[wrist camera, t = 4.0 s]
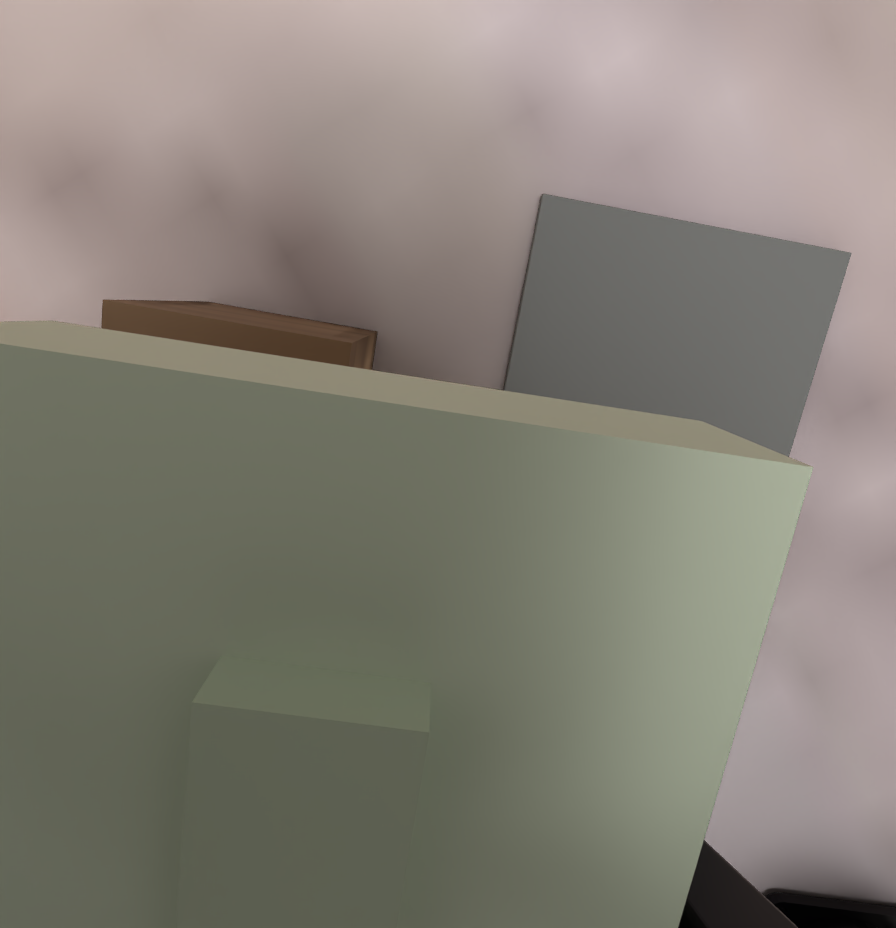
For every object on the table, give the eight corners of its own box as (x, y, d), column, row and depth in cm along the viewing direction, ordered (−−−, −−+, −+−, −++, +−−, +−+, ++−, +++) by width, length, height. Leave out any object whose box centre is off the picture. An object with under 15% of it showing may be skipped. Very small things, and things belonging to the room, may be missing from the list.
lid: (52, 320, 6) (-217, 326, 4) (702, 420, 7) (866, 489, 4) (41, 1097, 9) (-129, 1430, 6) (522, 1144, 9) (554, 1479, 6)
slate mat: (842, 254, 19) (851, 253, 18) (722, 651, 22) (727, 657, 21) (541, 196, 18) (543, 193, 18) (460, 611, 21) (460, 617, 21)
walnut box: (206, 301, 19) (102, 299, 13) (377, 331, 19) (352, 343, 13) (176, 666, 21) (80, 801, 16) (325, 687, 22) (285, 827, 16)
